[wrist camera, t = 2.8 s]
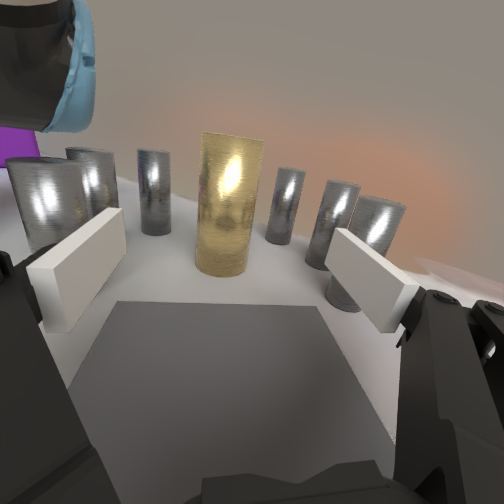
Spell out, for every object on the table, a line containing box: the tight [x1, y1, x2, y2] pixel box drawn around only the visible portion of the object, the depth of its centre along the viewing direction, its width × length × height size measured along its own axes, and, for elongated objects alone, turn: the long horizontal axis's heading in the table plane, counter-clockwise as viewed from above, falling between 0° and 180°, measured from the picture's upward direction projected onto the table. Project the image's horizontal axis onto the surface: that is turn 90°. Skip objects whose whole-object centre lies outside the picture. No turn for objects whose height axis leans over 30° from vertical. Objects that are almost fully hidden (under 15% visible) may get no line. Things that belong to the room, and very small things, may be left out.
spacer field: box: [5, 147, 407, 312], centre depth 26 cm, size 29×18×10 cm, turn 98°
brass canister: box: [196, 131, 265, 277], centre depth 24 cm, size 6×6×13 cm
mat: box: [67, 301, 395, 504], centre depth 13 cm, size 16×16×1 cm
